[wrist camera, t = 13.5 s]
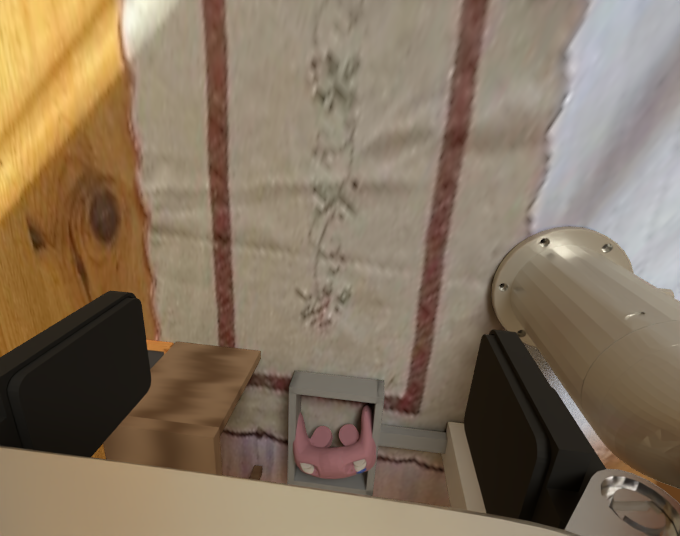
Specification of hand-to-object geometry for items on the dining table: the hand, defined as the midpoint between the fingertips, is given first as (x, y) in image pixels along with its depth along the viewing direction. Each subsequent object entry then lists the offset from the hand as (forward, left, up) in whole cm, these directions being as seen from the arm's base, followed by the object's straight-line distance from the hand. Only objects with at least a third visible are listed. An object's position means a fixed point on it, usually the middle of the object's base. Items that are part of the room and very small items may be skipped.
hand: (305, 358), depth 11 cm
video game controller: (+1, +28, -28) cm, 40 cm away
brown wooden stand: (+15, +28, -28) cm, 43 cm away
